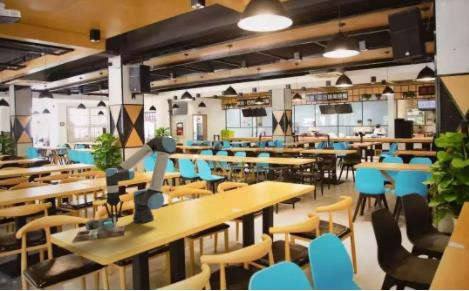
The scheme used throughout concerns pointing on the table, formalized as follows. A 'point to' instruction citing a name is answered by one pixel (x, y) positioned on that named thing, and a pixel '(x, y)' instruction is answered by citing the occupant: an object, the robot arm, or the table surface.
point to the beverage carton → (94, 224)
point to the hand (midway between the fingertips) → (115, 226)
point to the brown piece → (100, 232)
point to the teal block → (108, 224)
